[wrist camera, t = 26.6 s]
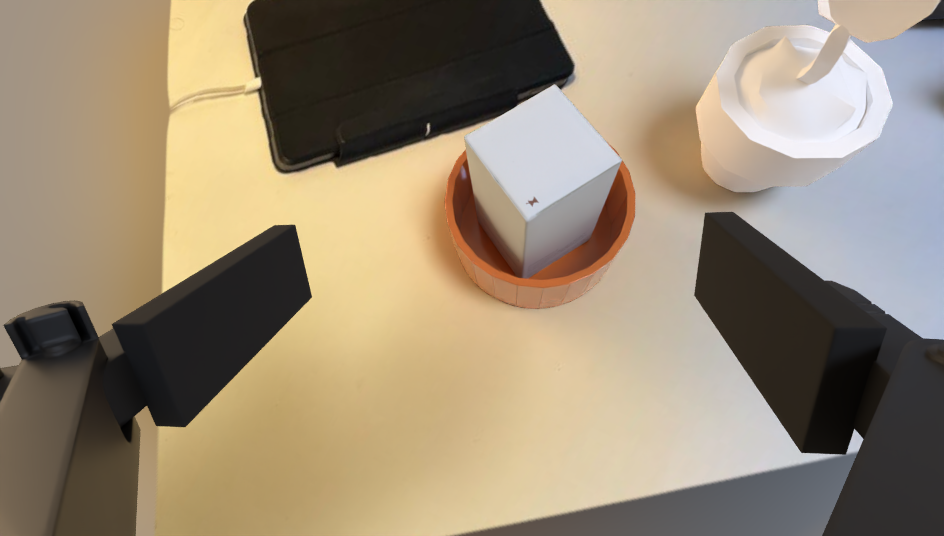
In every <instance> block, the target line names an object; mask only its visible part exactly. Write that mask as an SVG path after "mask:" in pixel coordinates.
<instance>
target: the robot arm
mask: <svg viewBox="0 0 944 536" xmlns="http://www.w3.org/2000/svg"><path fill="white" fill-rule="evenodd" d="M694 296H695V297H696V298H697V300H698V301H699V303H700V304H701V306H702V307H703V309H704V310H705V312H706V313H707V315H708V316H709V318H710V319H711V321H712V322H713V323H714V325H715V326H716V328H717V329H718V331H719V332H720V334H721V335H722V337H723V338H724V340H725V341H726V343H727V344H728V346H729V347H730V348H731V350H732V351H733V353H734V354H735V356H736V357H737V359H738V360H739V362H740V363H741V365H742V366H743V368H744V369H745V371H746V372H747V373H748V375H749V376H750V378H751V379H752V381H753V382H754V384H755V385H756V387H757V388H758V390H759V391H760V393H761V394H762V396H763V397H764V398H765V400H766V401H767V403H768V404H769V406H770V407H771V409H772V410H773V412H774V413H775V415H776V416H777V418H778V419H779V421H780V422H781V424H782V425H783V426H784V428H785V429H786V431H787V432H788V434H789V435H790V437H791V438H792V440H793V441H794V443H795V444H796V446H797V447H798V449H799V450H800V451H801V453H820V454H844V455H846V452H847V449H848V446H849V443H850V440H851V437H852V434H853V431H854V429H855V430H856V431H857V432H858V433H859V434H860V435H861V437H862V438H863V439H864V440H863V442H862V445H861V447H860V449H859V452H858V454H857V456H856V458H855V461H854V463H853V466H852V468H851V470H850V472H849V475H848V477H847V479H846V482H845V484H844V486H843V489H842V491H841V493H840V496H839V498H838V500H837V503H836V505H835V507H834V510H833V512H832V514H831V517H830V519H829V521H828V524H827V526H826V528H825V531H824V533H823V535H822V536H944V340H939V339H923V338H921V337H920V336H919V335H917V334H916V333H914V332H913V331H911V330H910V329H909V328H907V327H906V326H904V325H903V324H902V323H900V322H899V321H897V320H896V319H895V318H893V317H892V316H890V315H889V314H885V311H883V310H882V309H881V308H879V307H878V306H876V305H875V304H871V301H869V300H868V299H866V298H865V297H864V296H862V295H861V294H859V293H858V292H857V291H855V290H853V289H850V288H848V287H845V286H843V285H841V284H838V283H836V282H833V281H824V280H823V279H821V278H820V277H819V276H817V275H816V274H815V273H813V272H812V271H811V270H809V269H808V268H807V267H805V266H804V265H803V264H801V263H800V262H799V261H797V260H796V259H795V258H793V257H792V256H791V255H789V254H788V253H787V252H785V251H784V250H783V249H781V248H780V247H779V246H777V245H776V244H775V243H773V242H772V241H771V240H769V239H768V238H767V237H765V236H764V235H763V234H761V233H760V232H759V231H757V230H756V229H755V228H753V227H752V226H751V225H750V224H748V223H747V222H746V221H744V220H743V219H742V218H740V217H739V216H738V215H736V214H735V213H734V212H714V213H705V219H704V226H703V234H702V241H701V249H700V257H699V264H698V272H697V279H696V287H695V294H694ZM311 298H312V295H311V291H310V287H309V282H308V278H307V274H306V269H305V265H304V261H303V257H302V252H301V248H300V244H299V239H298V235H297V231H296V226H295V225H274V226H273V227H271V228H269V229H268V230H266V231H264V232H263V233H261V234H259V235H258V236H256V237H254V238H253V239H251V240H250V241H248V242H246V243H245V244H243V245H241V246H240V247H238V248H236V249H235V250H233V251H231V252H230V253H228V254H227V255H225V256H223V257H222V258H220V259H218V260H217V261H215V262H213V263H212V264H210V265H208V266H207V267H205V268H203V269H202V270H200V271H199V272H197V273H195V274H194V275H192V276H190V277H189V278H187V279H185V280H184V281H182V282H180V283H179V284H177V285H176V286H174V287H172V288H171V289H169V290H167V291H166V292H164V293H162V294H161V295H159V296H158V297H156V298H154V299H152V300H151V301H149V302H148V303H146V304H144V305H143V306H141V307H139V308H138V309H136V310H135V311H133V312H131V313H129V314H128V315H126V316H125V317H123V318H121V319H120V320H118V321H116V322H115V323H113V324H112V326H113V329H111V330H110V331H108V332H106V333H105V334H103V335H102V336H100V337H98V335H97V333H96V331H95V329H94V326H93V324H92V322H91V320H90V318H89V316H88V313H87V311H86V309H85V307H84V304H83V303H82V302H80V301H63V302H58V303H53V304H48V305H45V306H41V307H38V308H35V309H32V310H30V311H27V312H25V313H22V314H20V315H18V316H16V317H14V318H13V319H10V320H9V321H8V322H7V323H6V324H4V327H5V329H6V331H7V333H8V335H9V336H10V338H11V340H12V342H13V344H14V346H15V348H16V349H17V351H18V353H19V355H20V357H21V359H22V360H21V362H20V364H19V365H17V366H11V367H5V368H0V536H135V533H136V512H137V511H136V510H137V491H138V469H139V468H138V467H139V448H140V447H139V446H140V428H139V426H138V423H137V421H136V419H135V417H134V416H135V415H136V414H137V413H138V412H140V411H141V410H142V409H143V408H144V407H145V406H148V408H149V411H150V413H151V415H152V418H153V420H154V422H155V425H156V426H170V427H186V426H187V425H188V424H189V423H190V422H191V421H192V420H193V419H194V418H195V417H196V416H197V415H198V414H199V412H200V411H201V410H202V409H203V408H204V407H205V406H206V405H207V404H208V403H209V402H210V401H211V400H212V399H213V398H214V397H215V396H216V395H217V394H218V393H219V392H220V391H221V390H222V389H223V388H224V387H225V386H226V385H227V384H228V383H229V382H230V381H231V380H232V379H233V378H234V377H235V376H236V375H237V374H238V372H239V371H240V370H241V369H242V368H243V367H244V366H245V365H246V364H247V363H248V362H249V361H250V360H251V359H252V358H253V357H254V356H255V355H256V354H257V353H258V352H259V351H260V350H261V349H262V348H263V347H264V346H265V345H266V344H267V343H268V342H269V341H270V340H271V339H272V338H273V337H274V336H275V335H276V333H277V332H278V331H279V330H280V329H281V328H282V327H283V326H284V325H285V324H286V323H287V322H288V321H289V320H290V319H291V318H292V317H293V316H294V315H295V314H296V313H297V312H298V311H299V310H300V309H301V308H302V307H303V306H304V305H305V304H306V303H307V302H308V301H309V300H310V299H311Z"/></svg>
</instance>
